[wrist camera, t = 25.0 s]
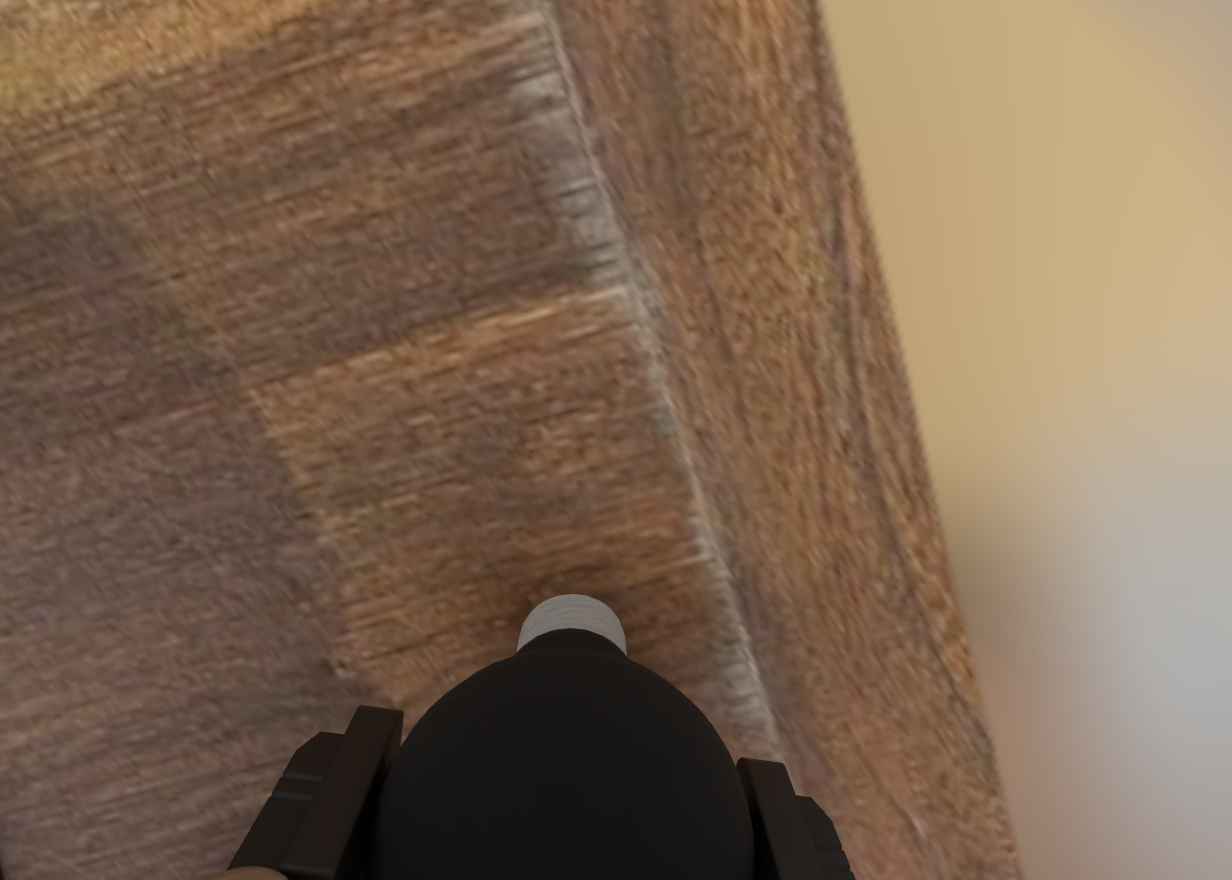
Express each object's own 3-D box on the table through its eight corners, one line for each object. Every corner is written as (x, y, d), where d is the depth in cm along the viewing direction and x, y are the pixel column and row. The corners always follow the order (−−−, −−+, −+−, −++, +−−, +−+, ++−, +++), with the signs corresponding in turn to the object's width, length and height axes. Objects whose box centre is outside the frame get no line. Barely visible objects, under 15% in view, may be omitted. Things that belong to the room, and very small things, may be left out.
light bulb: (667, 486, 18) (756, 775, 8) (713, 702, 19) (833, 1161, 10) (423, 539, 18) (229, 884, 8) (486, 749, 20) (383, 1248, 10)
